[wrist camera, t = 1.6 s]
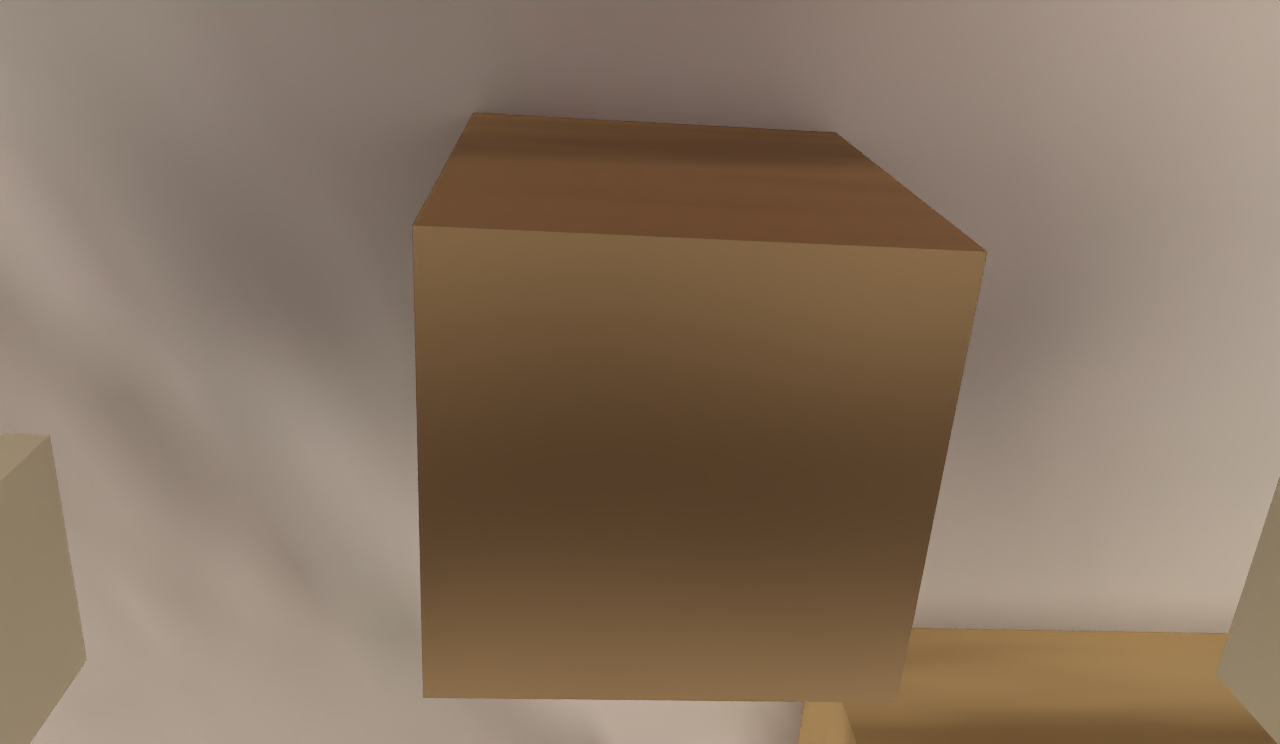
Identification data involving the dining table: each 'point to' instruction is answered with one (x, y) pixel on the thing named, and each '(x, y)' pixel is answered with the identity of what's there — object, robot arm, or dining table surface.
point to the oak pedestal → (1047, 692)
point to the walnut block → (678, 412)
